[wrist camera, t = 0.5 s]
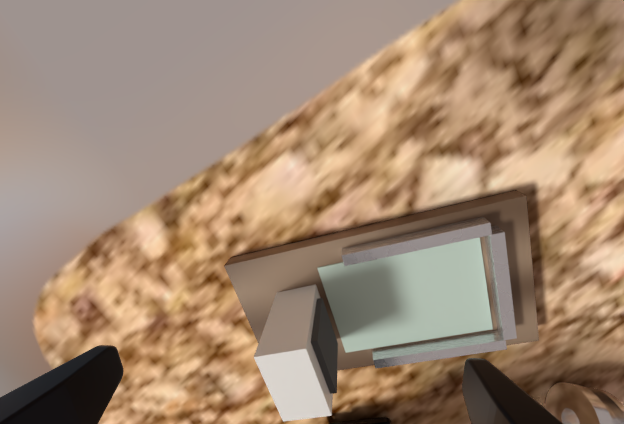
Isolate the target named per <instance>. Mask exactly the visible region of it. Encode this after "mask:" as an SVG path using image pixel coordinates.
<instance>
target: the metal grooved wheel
mask: <svg viewBox="0 0 624 424" xmlns="http://www.w3.org/2000/svg"><path fill="white" fill-rule="evenodd" d="M545 409H546V410H548V411H549V412H550V413H551V414H552V415H554V416H555V417H556V418H557V419H558V420H560V421H561V422H562V423H563V424H624V404H623V403H622V402H621V401H620V400H619V399H617V398H616V397H615V396H613V395H612V394H610V393H608V392H606V391H604V390H601V389H597V388H591V387H584V386H581V385H576V384H571V383H566V382H560V383H557V384H555V385H553V386H552V387H551V388H550V390H549V391H548V394H547V396H546V401H545Z"/></svg>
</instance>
